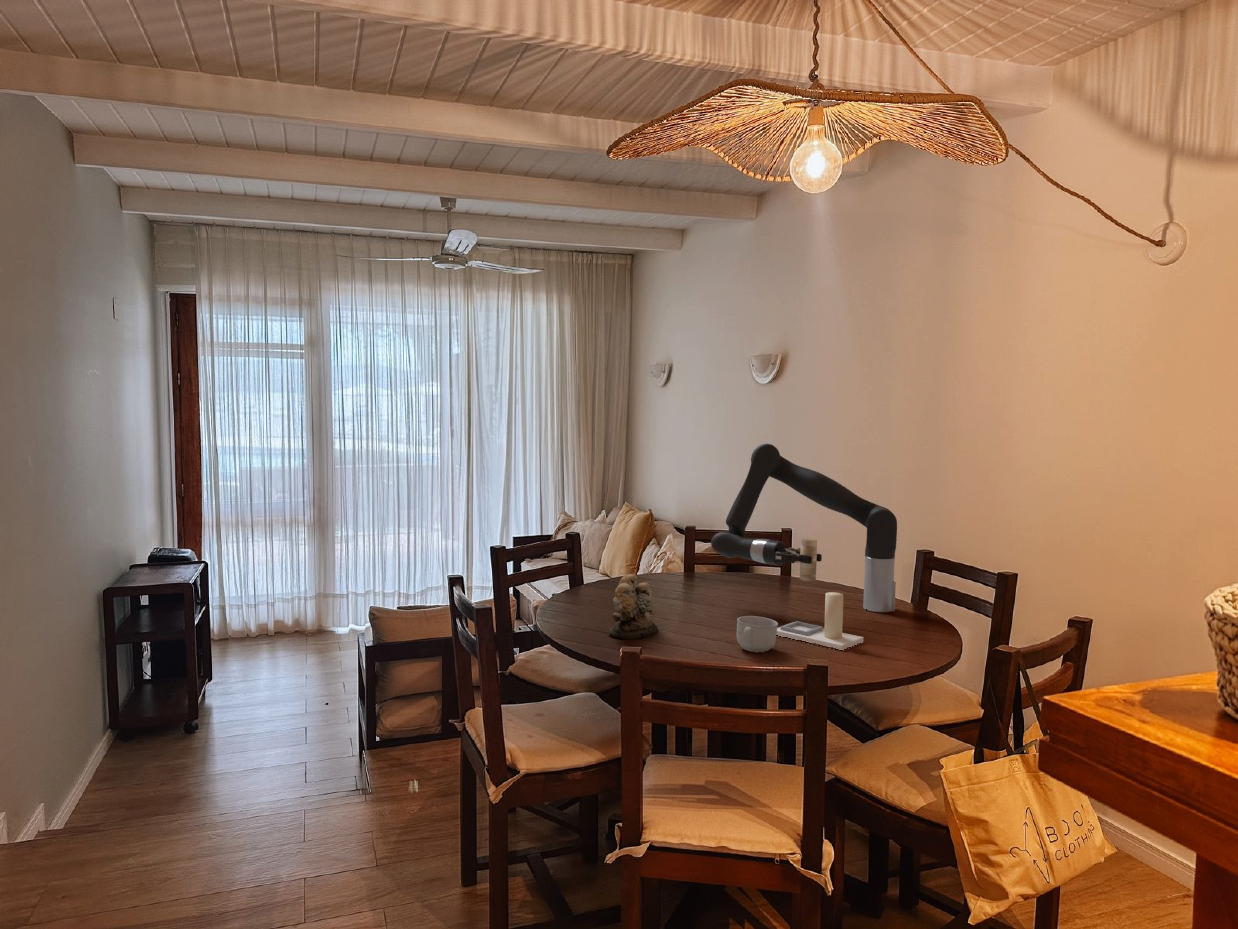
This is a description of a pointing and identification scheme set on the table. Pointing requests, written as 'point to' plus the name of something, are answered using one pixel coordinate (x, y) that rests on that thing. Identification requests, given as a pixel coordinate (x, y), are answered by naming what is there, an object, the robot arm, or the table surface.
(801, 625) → the board
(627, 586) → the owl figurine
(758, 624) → the teacup
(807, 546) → the maple post
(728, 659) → the table surface
